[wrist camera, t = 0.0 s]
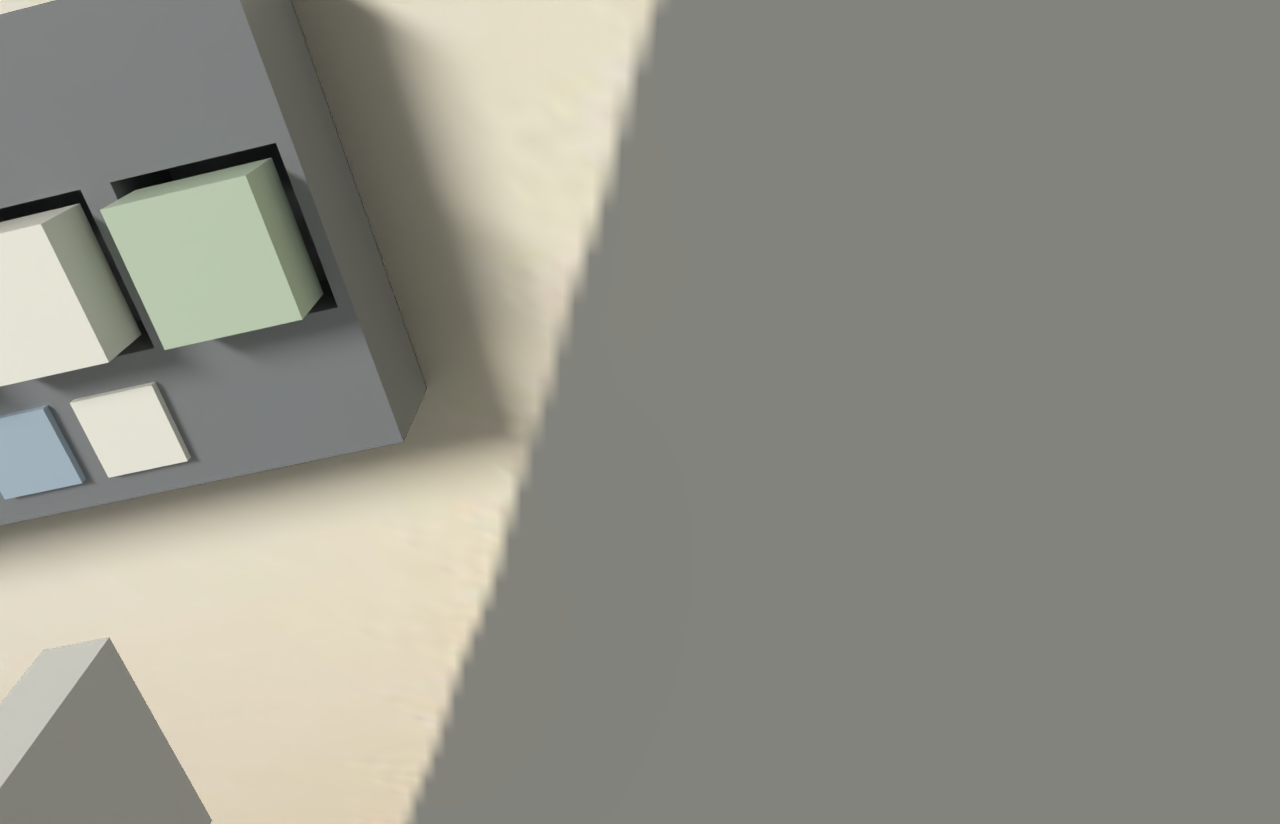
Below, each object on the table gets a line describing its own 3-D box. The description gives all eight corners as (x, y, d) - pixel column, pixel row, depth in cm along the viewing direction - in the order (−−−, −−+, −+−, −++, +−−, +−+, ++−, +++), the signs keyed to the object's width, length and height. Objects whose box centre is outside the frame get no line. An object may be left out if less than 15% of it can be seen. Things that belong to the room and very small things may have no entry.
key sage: (135, 189, 33) (99, 210, 31) (271, 157, 32) (245, 175, 30) (194, 322, 35) (164, 350, 33) (323, 293, 34) (302, 319, 32)
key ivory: (-52, 234, 33) (-100, 257, 31) (80, 203, 33) (40, 224, 31) (16, 362, 35) (-24, 391, 33) (141, 334, 35) (108, 362, 33)
